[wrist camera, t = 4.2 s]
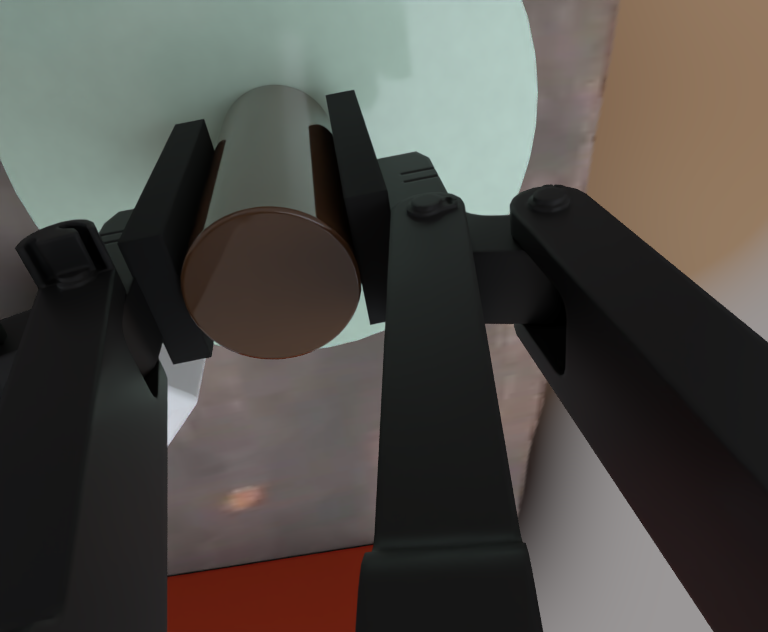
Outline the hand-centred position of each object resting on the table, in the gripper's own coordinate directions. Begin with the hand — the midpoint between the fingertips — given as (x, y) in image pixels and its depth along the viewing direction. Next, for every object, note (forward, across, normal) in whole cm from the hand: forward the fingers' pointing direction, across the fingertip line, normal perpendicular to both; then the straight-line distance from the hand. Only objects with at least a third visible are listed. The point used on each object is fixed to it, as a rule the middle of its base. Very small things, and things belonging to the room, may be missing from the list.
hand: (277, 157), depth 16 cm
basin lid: (+2, 0, 0) cm, 2 cm away
